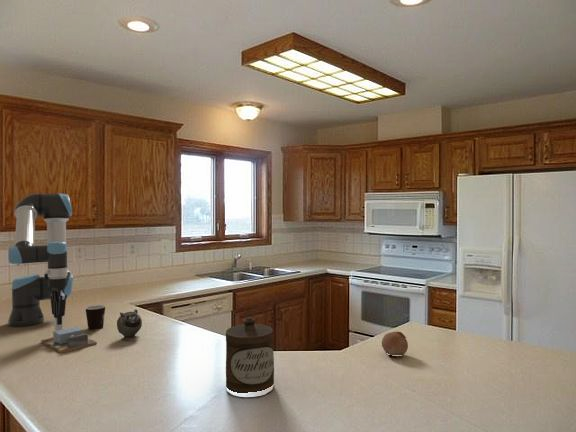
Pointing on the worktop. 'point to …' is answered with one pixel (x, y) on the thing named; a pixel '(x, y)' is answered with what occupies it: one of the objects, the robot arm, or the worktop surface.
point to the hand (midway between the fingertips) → (58, 331)
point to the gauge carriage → (65, 334)
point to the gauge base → (65, 346)
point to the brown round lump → (395, 343)
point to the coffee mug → (95, 317)
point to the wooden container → (249, 357)
